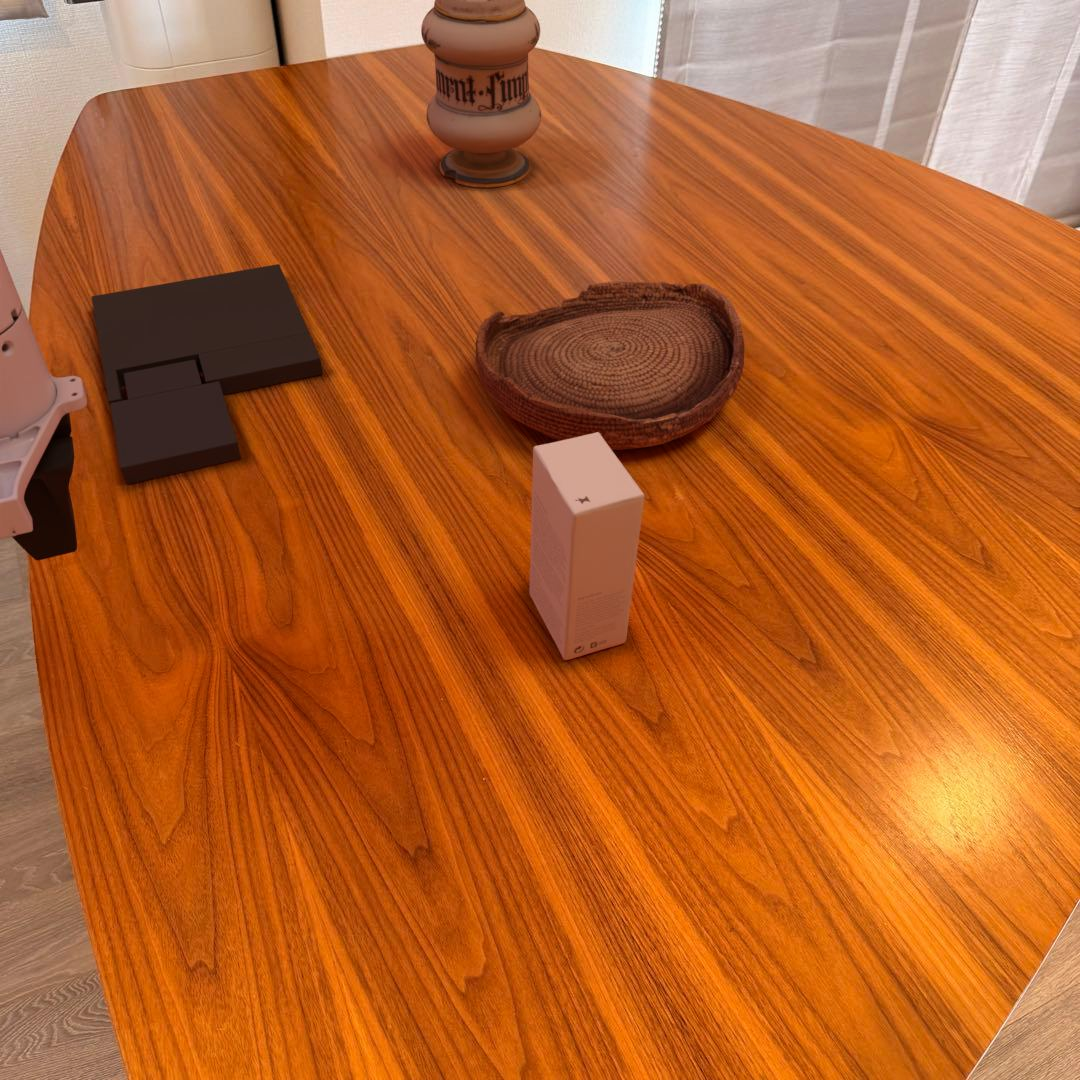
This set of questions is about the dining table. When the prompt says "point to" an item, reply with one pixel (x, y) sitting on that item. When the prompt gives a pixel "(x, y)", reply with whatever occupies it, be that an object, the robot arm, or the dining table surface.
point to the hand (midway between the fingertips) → (55, 547)
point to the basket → (616, 362)
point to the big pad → (208, 330)
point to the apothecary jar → (482, 88)
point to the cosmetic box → (583, 543)
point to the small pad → (171, 423)
